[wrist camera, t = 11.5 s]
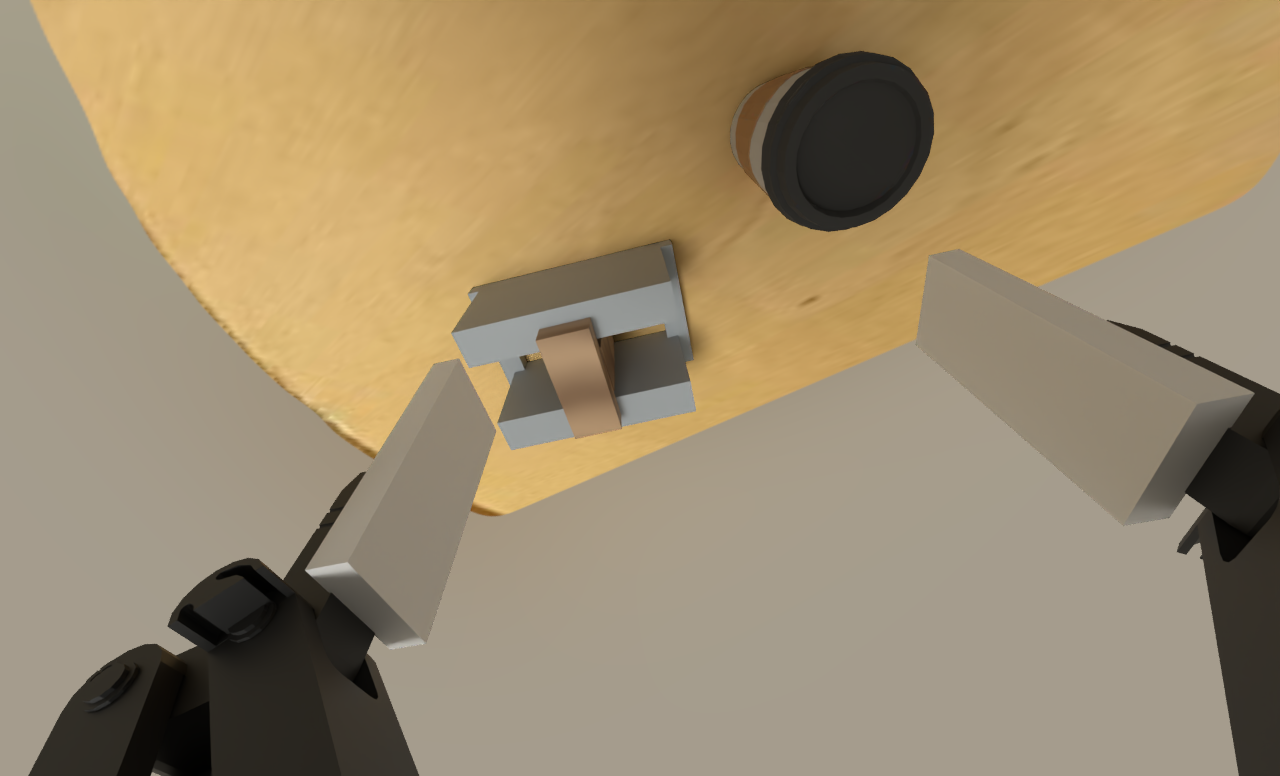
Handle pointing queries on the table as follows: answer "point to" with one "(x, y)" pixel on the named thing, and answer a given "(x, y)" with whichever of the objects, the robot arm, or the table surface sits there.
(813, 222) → the coffee cup
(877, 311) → the table surface
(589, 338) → the wooden t-shaped block
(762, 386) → the table surface
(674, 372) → the slot stand
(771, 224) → the table surface
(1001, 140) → the table surface
